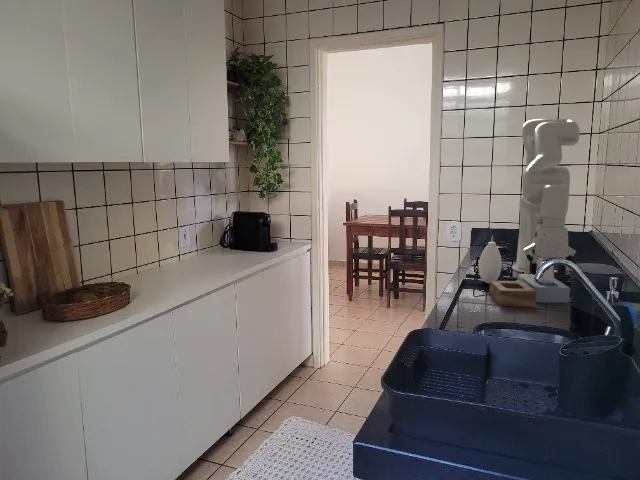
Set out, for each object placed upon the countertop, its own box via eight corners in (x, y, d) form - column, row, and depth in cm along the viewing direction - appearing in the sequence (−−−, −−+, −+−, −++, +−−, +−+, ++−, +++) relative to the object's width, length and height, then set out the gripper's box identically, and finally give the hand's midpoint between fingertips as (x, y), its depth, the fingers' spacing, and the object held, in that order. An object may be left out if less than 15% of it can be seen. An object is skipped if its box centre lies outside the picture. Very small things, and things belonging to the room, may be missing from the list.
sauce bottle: (482, 278, 178) (485, 232, 175) (502, 282, 173) (506, 235, 170) (474, 283, 172) (477, 235, 169) (495, 287, 168) (499, 238, 164)
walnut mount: (488, 294, 159) (489, 280, 158) (521, 295, 158) (522, 281, 157) (499, 305, 148) (500, 290, 147) (534, 306, 148) (536, 291, 147)
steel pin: (535, 294, 159) (538, 260, 157) (548, 295, 159) (551, 261, 156) (540, 299, 155) (544, 264, 152) (553, 299, 155) (557, 264, 152)
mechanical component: (516, 290, 164) (546, 292, 162) (517, 278, 164) (547, 280, 161) (511, 282, 174) (540, 284, 172) (512, 271, 173) (541, 273, 171)
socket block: (521, 291, 162) (522, 278, 161) (553, 292, 162) (554, 278, 161) (534, 302, 152) (535, 287, 151) (568, 302, 151) (570, 288, 150)
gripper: (529, 224, 148) (524, 276, 152) (585, 225, 148) (578, 277, 151) (520, 220, 156) (516, 270, 159) (573, 221, 155) (567, 271, 158)
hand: (546, 274), depth 155 cm, fingers open, 8 cm apart
